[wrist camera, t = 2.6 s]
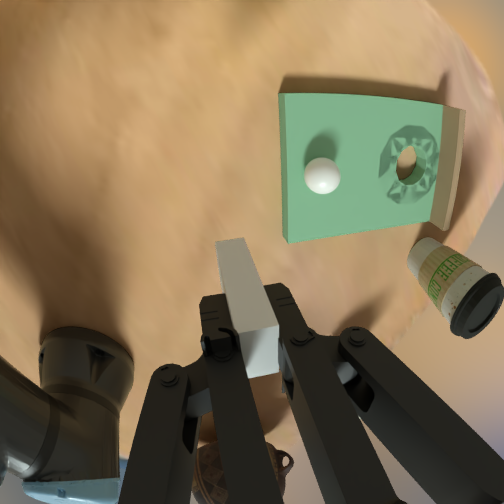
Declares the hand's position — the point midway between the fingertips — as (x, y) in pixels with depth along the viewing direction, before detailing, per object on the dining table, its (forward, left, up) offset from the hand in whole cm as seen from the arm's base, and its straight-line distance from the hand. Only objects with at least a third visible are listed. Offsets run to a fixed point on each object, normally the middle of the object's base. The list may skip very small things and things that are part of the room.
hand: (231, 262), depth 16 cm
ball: (+11, 0, -13) cm, 17 cm away
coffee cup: (+31, -15, -17) cm, 38 cm away
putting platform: (+19, 0, -17) cm, 25 cm away
